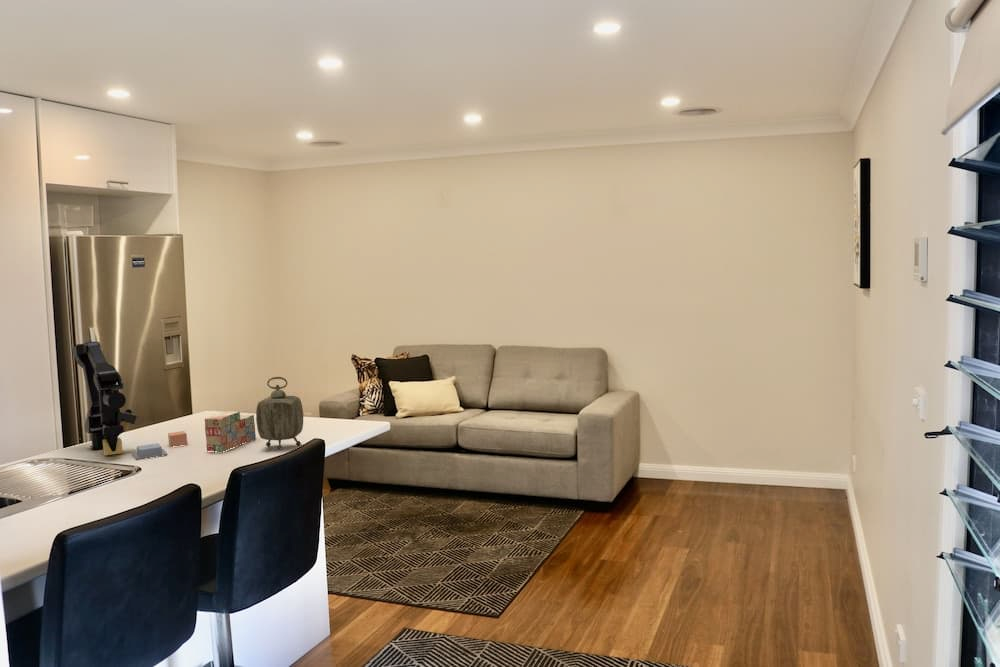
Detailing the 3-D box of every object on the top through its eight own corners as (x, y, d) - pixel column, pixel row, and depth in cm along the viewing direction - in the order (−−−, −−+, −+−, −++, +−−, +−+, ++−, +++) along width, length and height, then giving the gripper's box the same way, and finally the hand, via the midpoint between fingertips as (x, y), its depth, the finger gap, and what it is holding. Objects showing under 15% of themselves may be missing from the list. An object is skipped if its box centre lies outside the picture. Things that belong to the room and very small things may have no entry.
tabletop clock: (305, 444, 296) (300, 374, 294) (298, 450, 287) (293, 378, 285) (264, 445, 296) (259, 375, 294) (256, 452, 287) (251, 379, 285)
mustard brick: (103, 452, 293) (102, 439, 293) (120, 450, 296) (119, 437, 295) (105, 455, 288) (104, 442, 288) (122, 453, 291) (121, 440, 291)
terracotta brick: (169, 445, 304) (168, 433, 304) (184, 443, 307) (184, 431, 306) (171, 448, 299) (170, 435, 299) (187, 445, 302) (186, 433, 302)
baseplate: (132, 454, 291) (131, 446, 290) (162, 450, 296) (162, 441, 295) (136, 460, 282) (135, 451, 282) (167, 455, 287) (166, 447, 287)
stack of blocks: (241, 439, 310) (238, 406, 309) (256, 439, 308) (253, 406, 307) (206, 453, 289) (204, 417, 288) (222, 453, 288) (220, 418, 287)
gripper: (137, 406, 286) (141, 451, 288) (130, 399, 302) (134, 441, 304) (102, 410, 281) (105, 456, 282) (96, 403, 297) (100, 446, 298)
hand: (112, 449), depth 292 cm, fingers closed on mustard brick, 5 cm apart
